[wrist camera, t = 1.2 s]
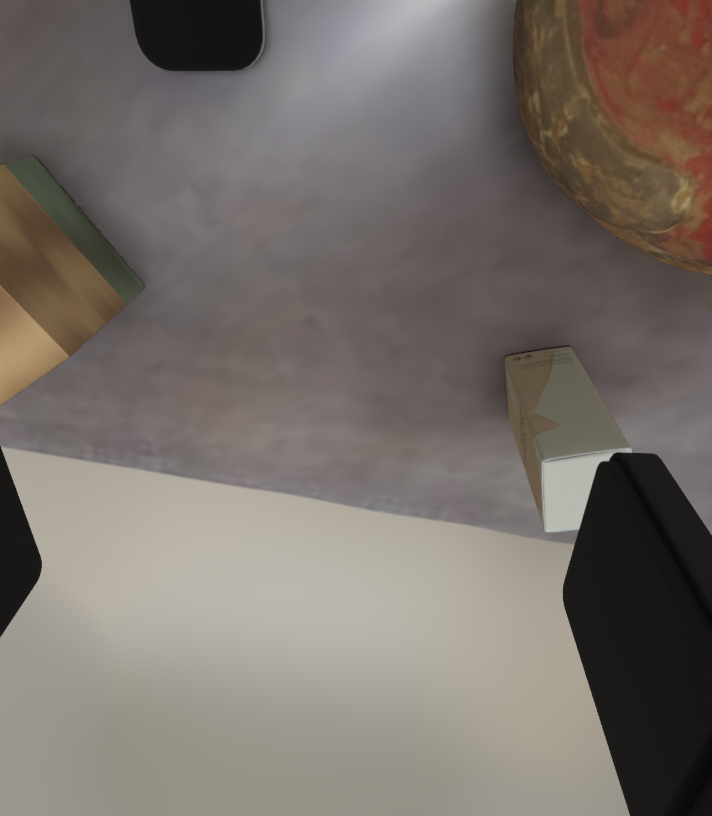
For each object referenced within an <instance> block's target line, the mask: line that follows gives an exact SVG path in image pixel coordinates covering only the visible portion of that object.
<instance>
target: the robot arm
mask: <svg viewBox="0 0 712 816" xmlns="http://www.w3.org/2000/svg"><path fill="white" fill-rule="evenodd" d="M41 568H42V561H41V556H40V554H39V551H38V548H37V546H36V543H35V540H34V537H33V534H32V532H31V529H30V526H29V523H28V521H27V518H26V515H25V513H24V510H23V507H22V504H21V502H20V499H19V496H18V493H17V490H16V488H15V485H14V482H13V480H12V477H11V474H10V471H9V468H8V466H7V463H6V460H5V458H4V455H3V452H2V449H1V446H0V637H1V635H2V634H3V632H4V631H5V629H6V628H7V626H8V625H9V623H10V622H11V620H12V619H13V617H14V616H15V614H16V613H17V611H18V610H19V608H20V607H21V605H22V604H23V602H24V601H25V599H26V598H27V596H28V595H29V593H30V592H31V590H32V589H33V587H34V586H35V584H36V582H37V581H38V579H39V576H40V573H41ZM563 602H564V607H565V610H566V614H567V617H568V620H569V623H570V626H571V629H572V632H573V636H574V639H575V642H576V645H577V649H578V652H579V655H580V658H581V661H582V664H583V667H584V670H585V674H586V677H587V680H588V683H589V686H590V690H591V693H592V696H593V699H594V702H595V706H596V708H597V712H598V715H599V718H600V721H601V725H602V728H603V731H604V734H605V737H606V740H607V744H608V747H609V750H610V753H611V756H612V759H613V763H614V766H615V769H616V772H617V775H618V778H619V782H620V785H621V788H622V791H623V794H624V798H625V801H626V804H627V807H628V810H629V813H630V816H712V535H711V534H710V532H709V531H708V529H707V528H706V526H705V525H704V523H703V522H702V520H701V519H700V517H699V516H698V514H697V513H696V511H695V510H694V508H693V507H692V505H691V504H690V502H689V501H688V499H687V498H686V496H685V495H684V493H683V492H682V490H681V489H680V487H679V486H678V484H677V483H676V481H675V480H674V478H673V477H672V475H671V474H670V472H669V471H668V469H667V468H666V466H665V465H664V463H663V462H662V460H661V459H660V458H659V457H658V456H657V455H655V454H648V453H624V452H616V453H614V454H613V455H612V456H611V457H610V460H609V461H602V462H600V463H599V465H598V467H597V469H596V473H595V476H594V479H593V483H592V486H591V490H590V493H589V497H588V500H587V504H586V507H585V511H584V514H583V518H582V521H581V525H580V528H579V532H578V535H577V539H576V542H575V546H574V550H573V553H572V556H571V560H570V563H569V567H568V570H567V574H566V577H565V581H564V585H563Z"/></svg>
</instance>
